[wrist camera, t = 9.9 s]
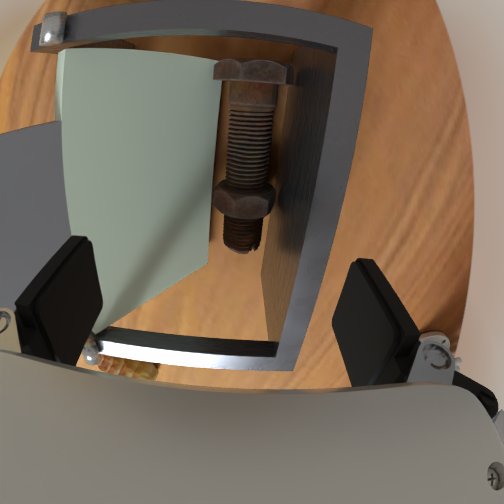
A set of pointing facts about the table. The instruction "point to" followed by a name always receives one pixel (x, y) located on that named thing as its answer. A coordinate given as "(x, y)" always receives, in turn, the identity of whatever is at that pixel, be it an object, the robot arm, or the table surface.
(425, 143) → the table surface
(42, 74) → the table surface
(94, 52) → the trapdoor
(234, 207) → the bolt
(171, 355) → the frame
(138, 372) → the pastry
